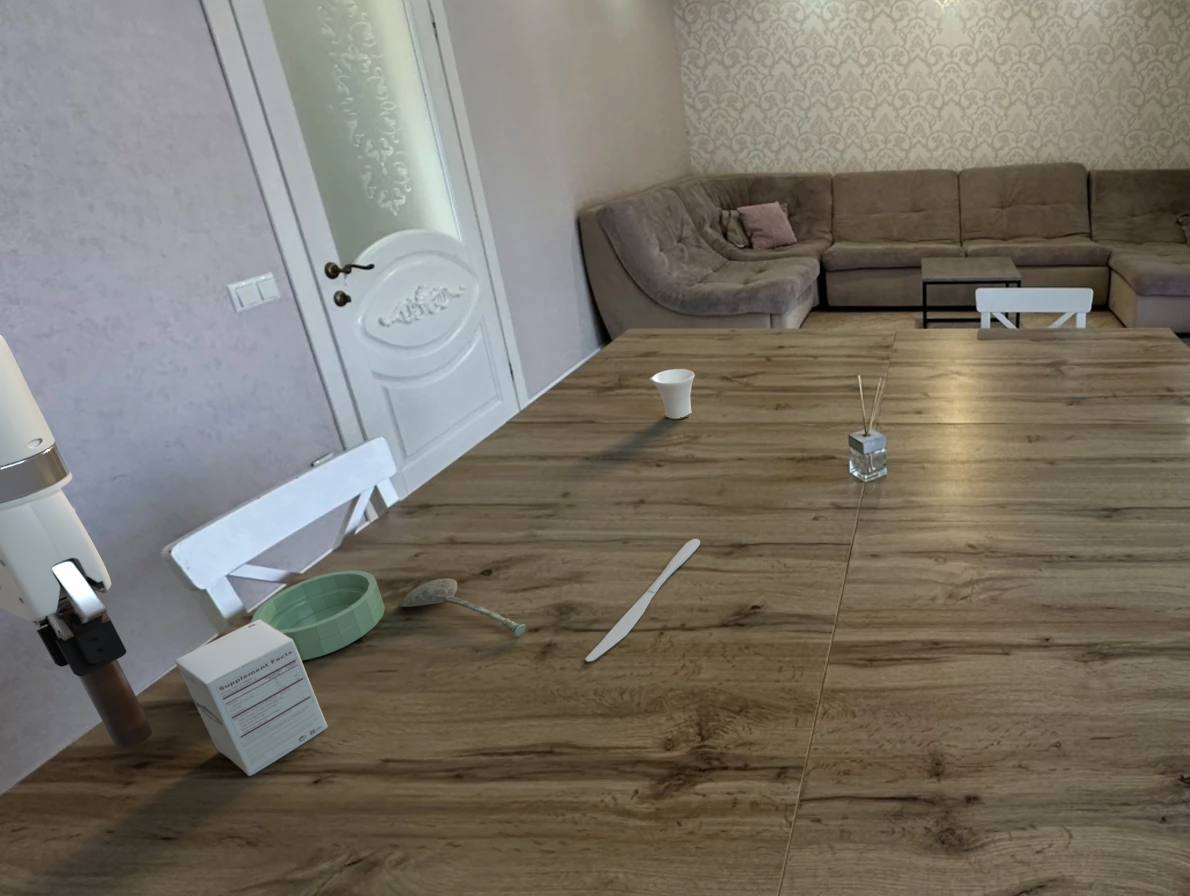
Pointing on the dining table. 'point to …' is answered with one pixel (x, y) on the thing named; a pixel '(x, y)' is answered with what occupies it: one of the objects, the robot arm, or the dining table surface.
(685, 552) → the butter knife
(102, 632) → the robot arm
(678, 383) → the cup
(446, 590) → the soupspoon
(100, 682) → the stirring stick
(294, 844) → the dining table surface
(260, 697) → the white packaging box
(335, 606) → the bowl
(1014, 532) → the dining table surface
